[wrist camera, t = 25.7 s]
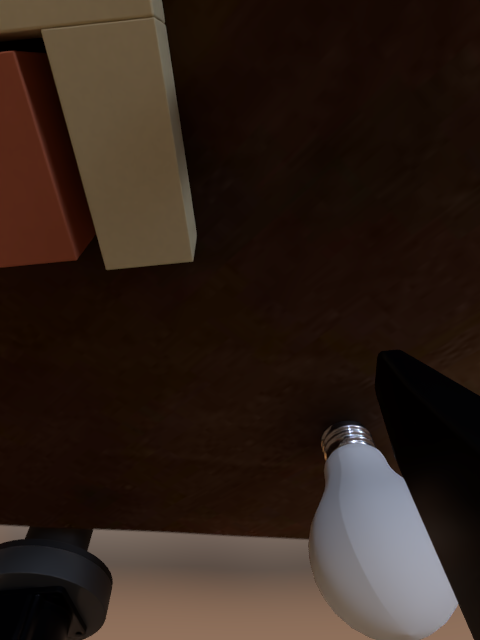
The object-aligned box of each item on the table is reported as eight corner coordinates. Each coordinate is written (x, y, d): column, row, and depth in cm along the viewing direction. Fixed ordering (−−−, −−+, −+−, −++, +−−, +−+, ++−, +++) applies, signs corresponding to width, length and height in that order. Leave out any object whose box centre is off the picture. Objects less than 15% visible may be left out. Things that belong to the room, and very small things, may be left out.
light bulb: (265, 425, 26) (290, 634, 16) (360, 366, 24) (450, 566, 14) (327, 480, 29) (378, 686, 19) (416, 431, 27) (523, 635, 17)
